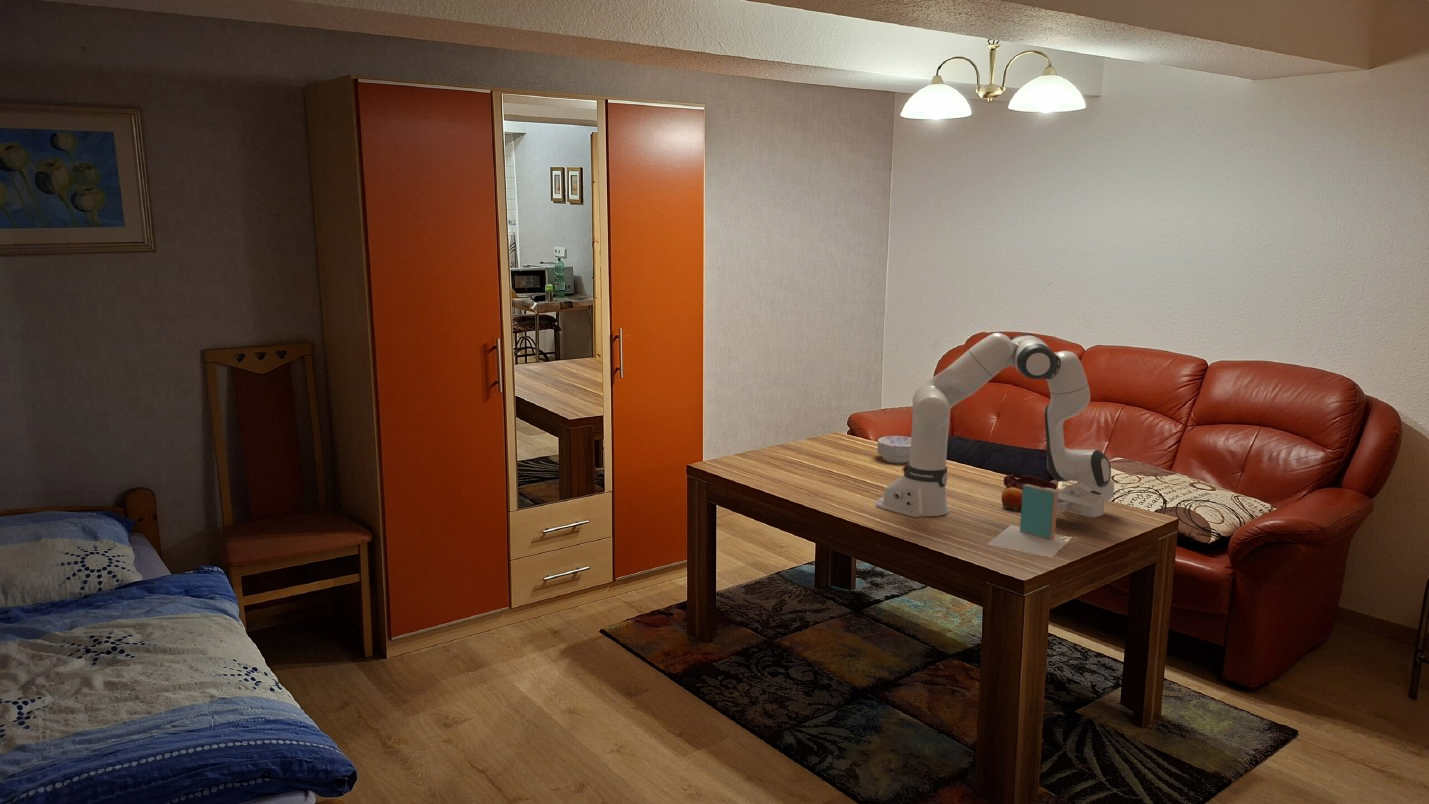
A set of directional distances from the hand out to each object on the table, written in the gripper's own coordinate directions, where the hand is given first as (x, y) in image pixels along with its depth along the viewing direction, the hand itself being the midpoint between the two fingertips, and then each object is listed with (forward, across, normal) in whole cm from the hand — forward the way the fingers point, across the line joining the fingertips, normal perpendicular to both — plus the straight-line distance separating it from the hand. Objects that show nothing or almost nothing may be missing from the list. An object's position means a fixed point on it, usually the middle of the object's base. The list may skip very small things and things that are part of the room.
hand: (1052, 506), depth 279 cm
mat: (+13, +2, +7) cm, 15 cm away
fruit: (-10, -19, +8) cm, 23 cm away
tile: (+7, 0, +7) cm, 10 cm away
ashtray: (-27, -24, +8) cm, 37 cm away
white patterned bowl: (-28, -81, +8) cm, 86 cm away
